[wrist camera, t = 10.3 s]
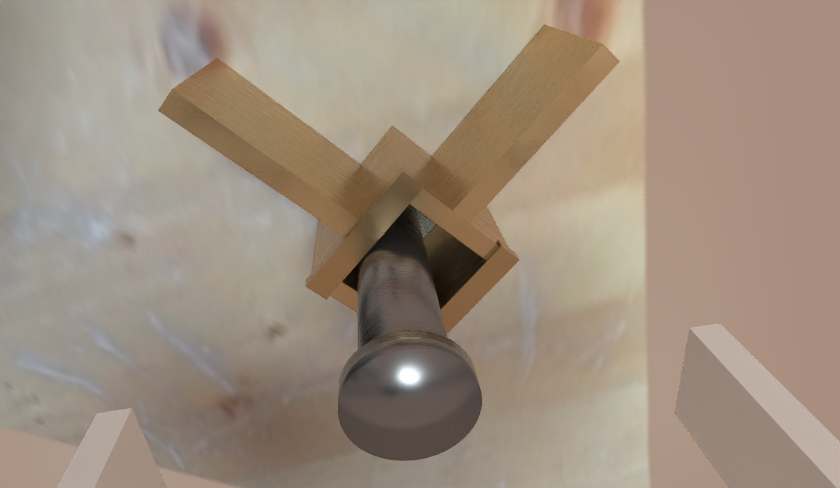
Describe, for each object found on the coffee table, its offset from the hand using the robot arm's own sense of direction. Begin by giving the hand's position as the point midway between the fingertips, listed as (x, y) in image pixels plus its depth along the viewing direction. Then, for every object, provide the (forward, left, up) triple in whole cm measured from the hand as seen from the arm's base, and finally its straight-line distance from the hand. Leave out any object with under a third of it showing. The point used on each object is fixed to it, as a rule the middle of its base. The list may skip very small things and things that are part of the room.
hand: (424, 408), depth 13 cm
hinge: (-3, +4, -13) cm, 14 cm away
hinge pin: (0, 0, -13) cm, 13 cm away
